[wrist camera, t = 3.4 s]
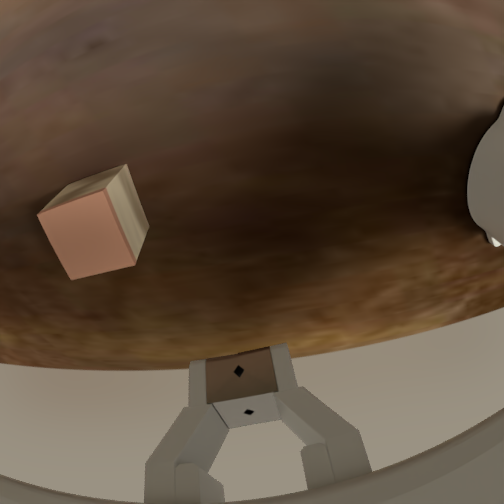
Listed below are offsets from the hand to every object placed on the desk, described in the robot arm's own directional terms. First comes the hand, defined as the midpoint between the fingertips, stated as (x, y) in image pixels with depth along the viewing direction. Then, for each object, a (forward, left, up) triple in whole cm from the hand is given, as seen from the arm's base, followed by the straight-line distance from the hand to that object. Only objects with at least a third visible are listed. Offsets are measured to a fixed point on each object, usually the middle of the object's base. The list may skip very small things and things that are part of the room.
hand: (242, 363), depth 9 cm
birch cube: (+11, 0, -18) cm, 21 cm away
